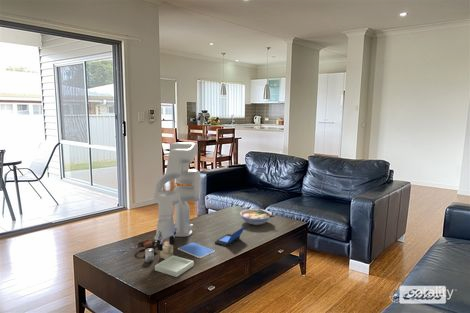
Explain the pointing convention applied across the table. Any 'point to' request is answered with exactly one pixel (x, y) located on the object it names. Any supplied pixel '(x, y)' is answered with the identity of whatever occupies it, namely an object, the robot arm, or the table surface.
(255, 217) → the ramen bowl
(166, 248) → the beech block
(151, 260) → the grey canister
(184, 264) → the tray
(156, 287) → the table surface
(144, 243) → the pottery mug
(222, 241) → the handheld game console
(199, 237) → the table surface
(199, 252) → the tablet computer
